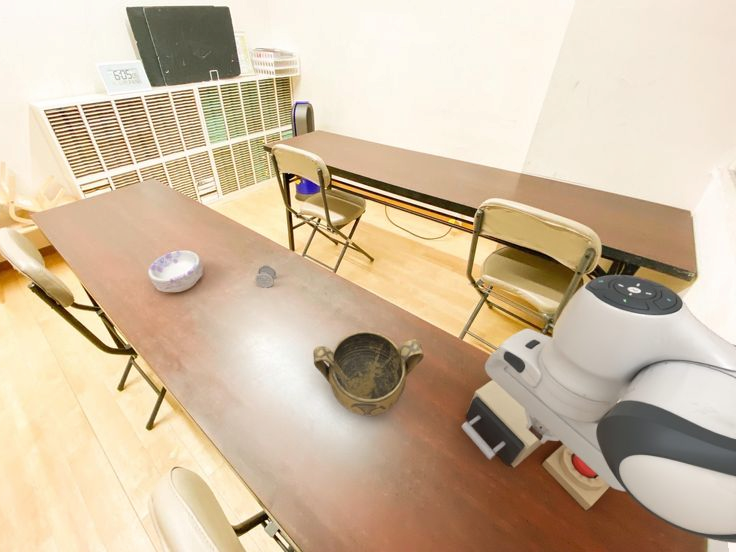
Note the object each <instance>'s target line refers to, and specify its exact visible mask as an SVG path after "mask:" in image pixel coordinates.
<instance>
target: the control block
mask: <svg viewBox="0 0 736 552" xmlns="http://www.w3.org/2000/svg"><path fill="white" fill-rule="evenodd" d="M574 455H575V454H574V453H573V452H572V451H571V450H570V449H569V448H568V447H567V446H565V445H564V444H563V443H562V444H561V446H559V447H558V448H557V449H556V450H554V452H553V453H551V454H550V455H549V456H548V457H547V458H546V459H545V460H544V461H543V462H542V464H541V466H542V467H543V468H544V469H545V470H546V471H547V472H548V473H549V474H550V475H551V477H553V479H555V480H556V482H557V483H558V484H559V485H560V486H561V487H562V488H563V489H564V490H565V491H567V493H568V494H569V496H571V497H572V498H573V499H574V500H575V501H576V502H577V503H578V504H579V505H580V507H582V508H583V509H584V510H585V511H587V510H589V509H590V508H591V507H593V505H594V504H595V503H596V502H597V501H598V500H599V499H600V498H601V497H602V496H603V495H604V494H605V492H606V491H607V490H608V489H609V488H610V487H611V486H609V485H608V484H607V483H606V482H605V481H604V480H603V479H602V478H601V477H600V476H598V475H597V474H596V475H595V476H594V477H586V476H584V475H582V474H580V473H579V472H578V471H577V470H576V469H575V467H574V465H573V462H572V458H573V456H574Z"/></svg>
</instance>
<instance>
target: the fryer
mask: <svg viewBox="0 0 736 552" xmlns="http://www.w3.org/2000/svg"><path fill="white" fill-rule="evenodd" d="M475 397H478V398H479V399H480V400H481V401H483V402H484V403H485V404H486V405H487V406H488V407H489V408H490V409H491V410H492V411H493V412H494V413H495V414H496V415H497V416H498V417H499V418H500V420H501V421H502V422H503V423H504V424H505V425H506V426H507V427H508V428H509V429H510V430H511V431H512V432H513V433H514V434H515V435H516V436H517V437H518V438H519V439H520V440H521V441H522V442H523V443H524V445H525V446H524V448H523V449H522V451H521V452H520V453H519V455H518V456H517V457H516V459H515V460H514V462H513V463H512V464H511V465H510V466H512V468H516V467H517V466H518V465H519V464H521V463H522V462H523V461H524V460H525V459H526V458H528V457H529V456H530V455H531V454H532V453H534V451H535V450H537V449H538V448H539V447H540V446H541V445H543V443H542V442H541V441H540V440H539V439H538V438H537V437H536V436H535V435H534V434H532V433H531V432H530V431H529V430H528V429H527V428H526V425H527V424H528V421H527V418H526V414H525V408H523V407H522V406H521V405H520V404H519V403H518V402H517V401H516V400H515V399H514V398H512V397H511V396H510V395H509V394H508V393H507V392H506V391H505V390H504V389H503V388H501V387H500V386H499V385H498V384H497V383H496V382H495V381H494V380H493V379H491V380H489V381H488V382H487V383H485V384H484V385H482V386H481V387H480V388H478V389H476V390H475V391H474V395H473V396H472V399H471V401H470V403H469V406H468V408H467V411H466V413H465V415H466V414H467V412H468V409H469V407H470V405H471V402H472V400H473V399H474V398H475Z"/></svg>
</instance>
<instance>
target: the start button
mask: <svg viewBox="0 0 736 552" xmlns="http://www.w3.org/2000/svg"><path fill="white" fill-rule="evenodd" d="M572 462H573V465H574V467H575V469H576V470H577V471H578V472H579V473H580V474H582V475H584V476H586V477H594V476H595V475H596V473H595V472H594V471H593V470H592V469H591V468H590V467H589V466H587V465H586V464H585V463H584V462H583V461H582V460H581V459H580V458H579V457H578V456H576V455H574V456H573V458H572Z"/></svg>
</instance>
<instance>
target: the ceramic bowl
mask: <svg viewBox="0 0 736 552" xmlns="http://www.w3.org/2000/svg"><path fill="white" fill-rule="evenodd" d="M312 356H313V365H314V367H315V368H316V369H317V370H318V371H319V372H320V373H321V375H322V376H323V377H324V378H325V380H326V381H327V382H328V383H329V386H330V389H331V391H332V394H333V396H334V397H335V399H336V400H337V401H338V402H339V403H340V404H341V405H342V406H343V407H344V408H345V409H346V410H348V411H349V412H351V413H354V414H356V415H359V416H364V417H365V416H367V417H368V416H369V417H373V416H378V415H380V414H381V415H382V414H383V413H385V412H387V411H389V410H390V409H391V408H392V407H394V406H395V405H396V404H397V402H398V401H399V400H400V398H401V397H402V395H403V394H404V390H405V388H406V383H407V382H406V381H407V376H408V375H409V374H410V373H411V372H412V371H413V370H414V369H415V368H416V367H417V366H418V365H419V363H421V362H422V361H423V359H424V357H425V355H424V351H423V348H422V345H421V342H420V341H419V340H418V339H415V338H414V339H409V340H407V341H405V342H404V343H402V345H400V346H399V347H398V346H397V344H396V343H395V342H394V341H393V340H391V339H390V338H389V337H387V336H385V335H384V334H382V333H380V332H377V331H372V330H360V331H355V332H351V333H349V334H347V335H345V336H344V337H342V338H341V339H340V340H339V341H338V342H337V343H336V345H335V346H334V348H333V351H332V350H331V349H330V348H329V347H327V346H324V345H319V346H316V347H315V348H314V349H313V355H312ZM327 364H328V365H327Z"/></svg>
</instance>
